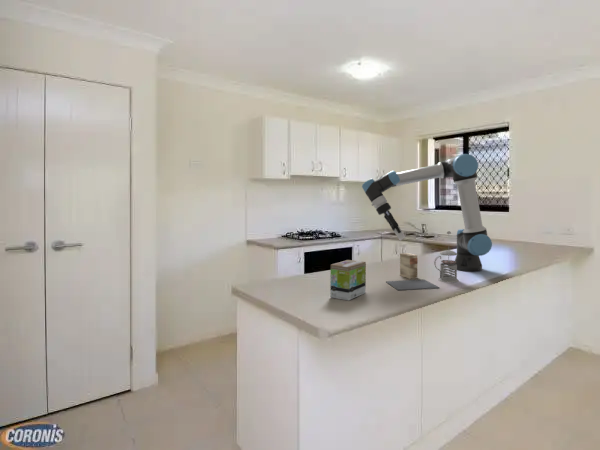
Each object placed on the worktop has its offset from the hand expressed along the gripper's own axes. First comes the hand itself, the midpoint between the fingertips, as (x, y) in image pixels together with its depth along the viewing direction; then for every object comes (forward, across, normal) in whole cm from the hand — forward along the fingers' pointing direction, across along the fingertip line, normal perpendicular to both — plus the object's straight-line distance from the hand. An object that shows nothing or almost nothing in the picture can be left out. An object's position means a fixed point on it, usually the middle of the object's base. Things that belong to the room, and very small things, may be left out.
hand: (402, 239), depth 193 cm
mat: (+21, +15, -9) cm, 28 cm away
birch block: (+19, -4, -8) cm, 20 cm away
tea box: (+10, +36, -36) cm, 52 cm away
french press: (+29, +3, +7) cm, 30 cm away
